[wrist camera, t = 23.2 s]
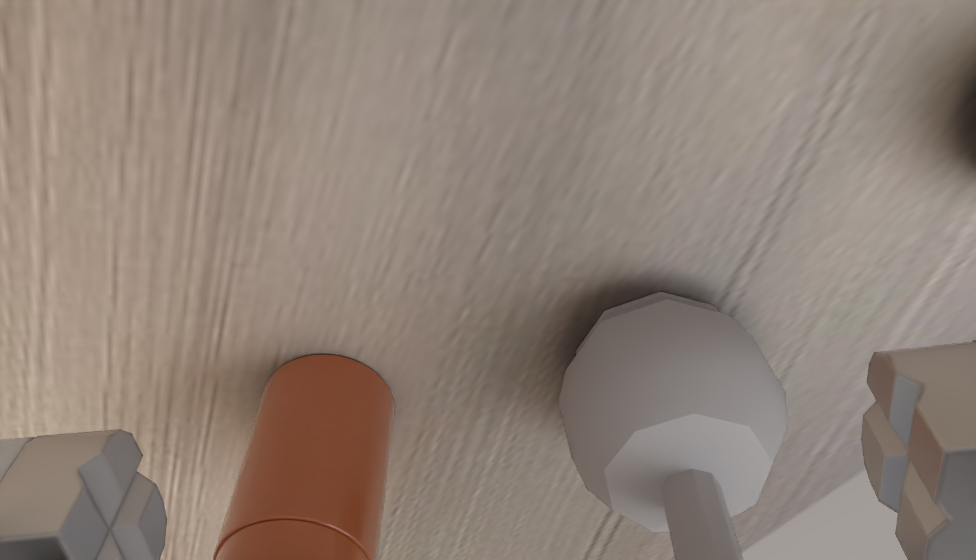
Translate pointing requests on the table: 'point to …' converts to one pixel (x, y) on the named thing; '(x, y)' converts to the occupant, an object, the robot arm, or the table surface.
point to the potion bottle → (674, 420)
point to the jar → (313, 466)
